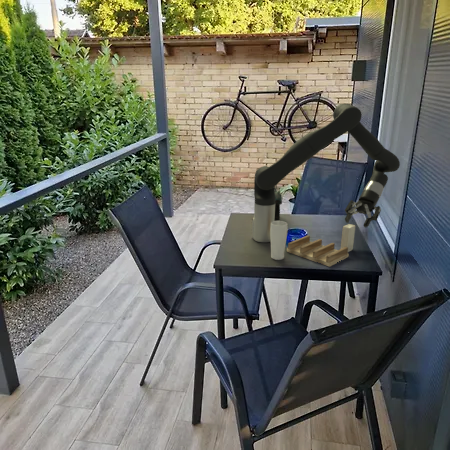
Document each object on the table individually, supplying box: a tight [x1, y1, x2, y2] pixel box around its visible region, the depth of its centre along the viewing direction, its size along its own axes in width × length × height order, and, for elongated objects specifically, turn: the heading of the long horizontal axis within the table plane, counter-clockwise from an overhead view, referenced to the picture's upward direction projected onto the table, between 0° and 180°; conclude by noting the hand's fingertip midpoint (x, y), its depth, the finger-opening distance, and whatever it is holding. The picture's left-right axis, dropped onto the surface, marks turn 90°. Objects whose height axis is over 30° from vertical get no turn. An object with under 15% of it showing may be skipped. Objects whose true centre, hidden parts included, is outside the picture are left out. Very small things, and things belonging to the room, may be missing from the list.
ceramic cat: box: [274, 184, 283, 221], centre depth 204 cm, size 20×6×20 cm, turn 179°
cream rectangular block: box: [340, 223, 356, 253], centre depth 167 cm, size 3×5×11 cm, turn 134°
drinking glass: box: [270, 220, 288, 261], centre depth 158 cm, size 7×7×15 cm
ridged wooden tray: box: [286, 234, 349, 267], centre depth 164 cm, size 21×14×4 cm, turn 44°
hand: (355, 224), depth 169 cm, fingers open, 8 cm apart
